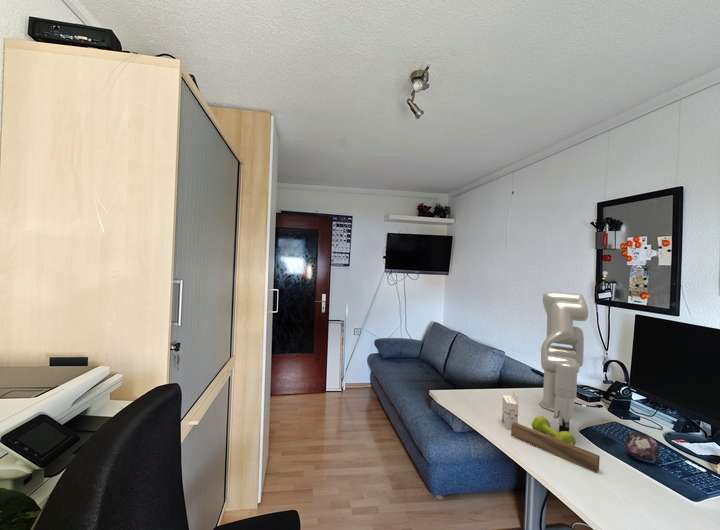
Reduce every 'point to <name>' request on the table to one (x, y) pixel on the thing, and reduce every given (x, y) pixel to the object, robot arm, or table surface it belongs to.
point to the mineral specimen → (642, 446)
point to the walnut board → (557, 447)
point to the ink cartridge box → (510, 410)
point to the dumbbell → (552, 430)
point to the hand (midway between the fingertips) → (563, 435)
